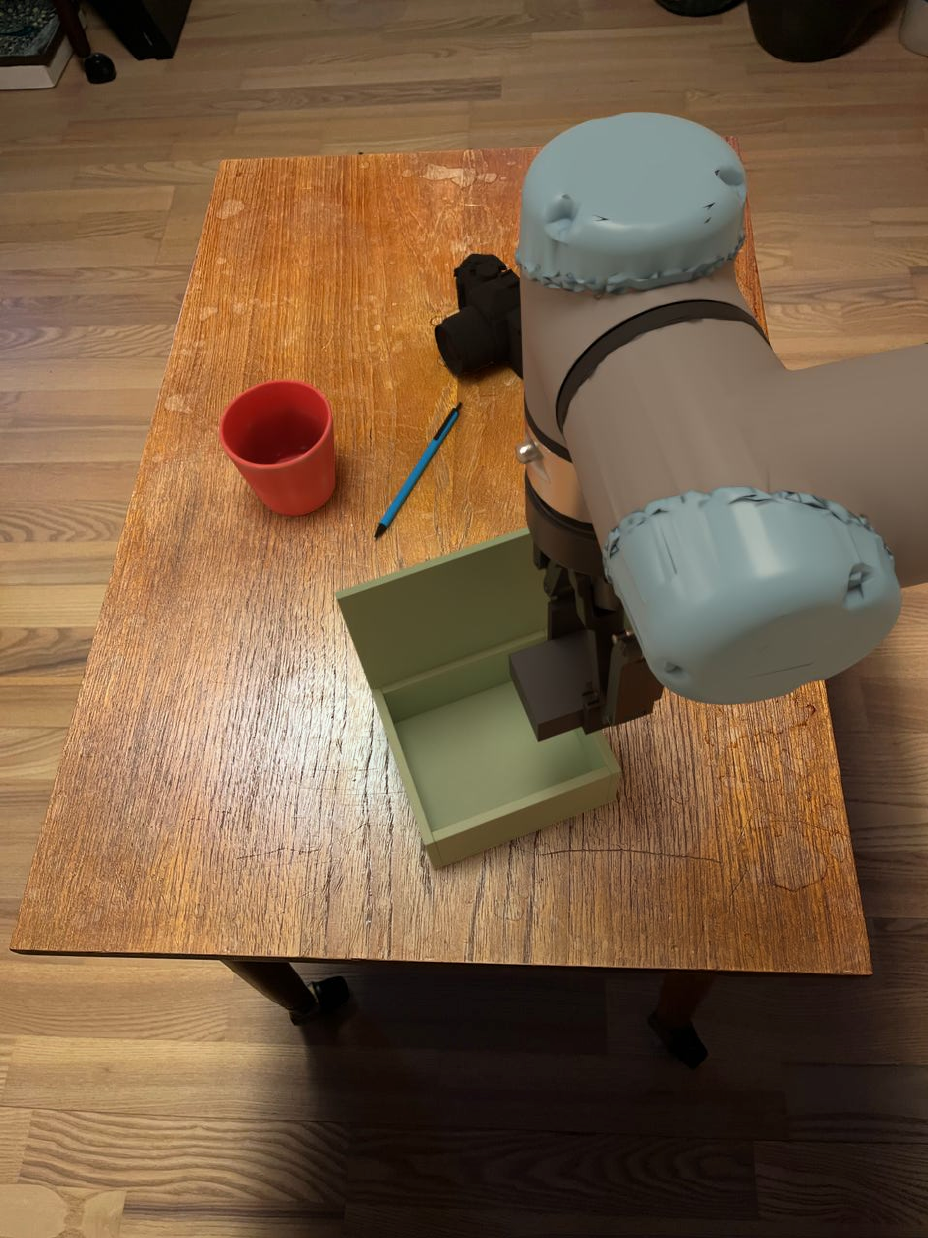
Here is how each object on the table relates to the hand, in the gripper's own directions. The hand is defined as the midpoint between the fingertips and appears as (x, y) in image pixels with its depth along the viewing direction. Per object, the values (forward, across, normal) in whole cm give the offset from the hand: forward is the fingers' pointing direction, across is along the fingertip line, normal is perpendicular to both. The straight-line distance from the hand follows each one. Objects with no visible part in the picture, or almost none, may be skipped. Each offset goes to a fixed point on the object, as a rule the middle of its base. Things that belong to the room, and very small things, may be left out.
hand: (584, 684), depth 62 cm
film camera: (+15, -48, +9) cm, 51 cm away
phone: (0, 0, 0) cm, 0 cm away
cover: (+1, -9, -6) cm, 11 cm away
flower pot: (+15, -37, -15) cm, 43 cm away
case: (+15, -3, -6) cm, 16 cm away
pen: (+15, -35, -3) cm, 38 cm away
